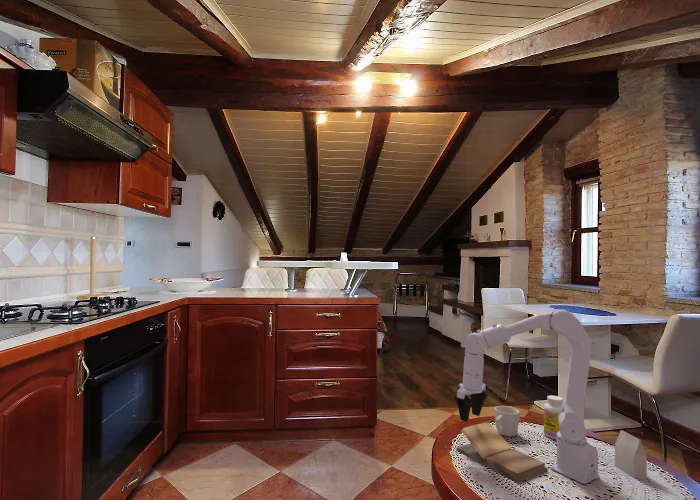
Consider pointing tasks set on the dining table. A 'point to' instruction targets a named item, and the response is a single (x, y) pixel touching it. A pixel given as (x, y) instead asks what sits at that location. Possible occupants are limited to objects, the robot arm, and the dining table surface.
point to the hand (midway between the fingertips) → (470, 417)
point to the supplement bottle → (552, 416)
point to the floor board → (508, 463)
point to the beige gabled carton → (630, 455)
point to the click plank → (485, 439)
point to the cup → (507, 420)
